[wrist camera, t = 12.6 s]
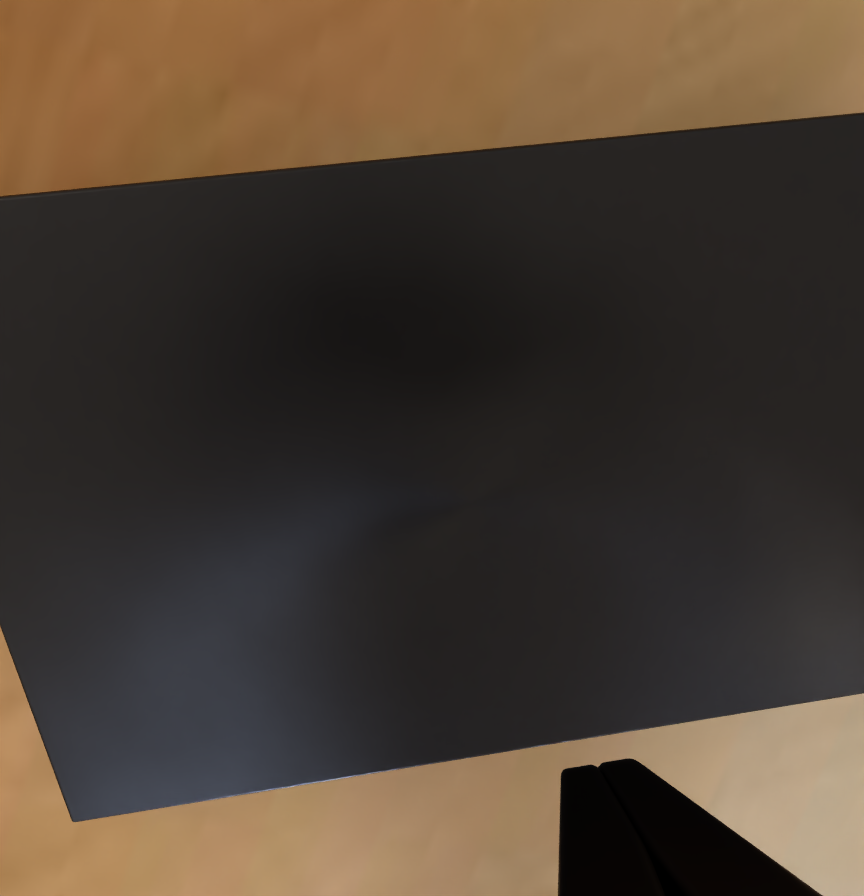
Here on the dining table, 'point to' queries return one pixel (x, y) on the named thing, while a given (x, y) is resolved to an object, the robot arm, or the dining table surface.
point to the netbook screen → (431, 455)
